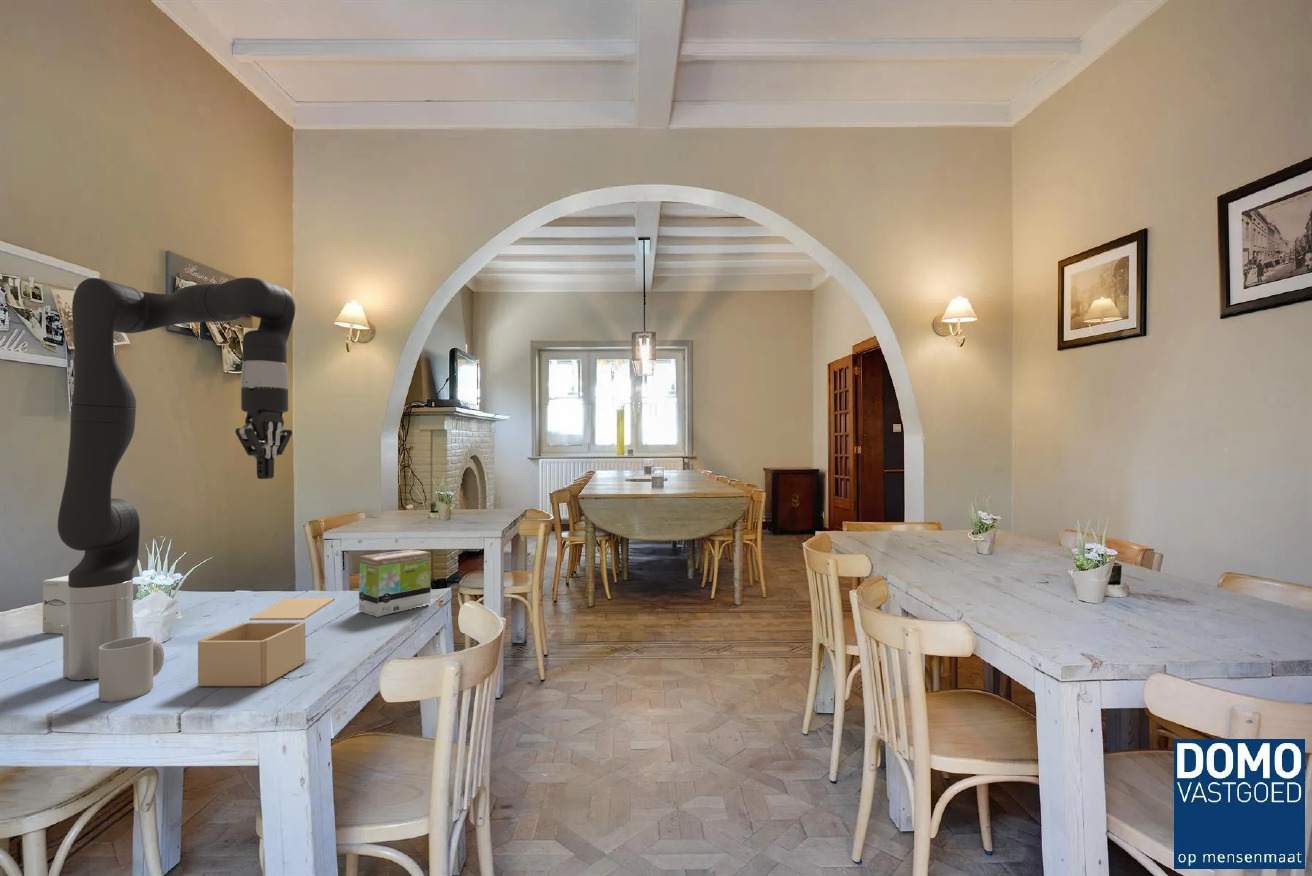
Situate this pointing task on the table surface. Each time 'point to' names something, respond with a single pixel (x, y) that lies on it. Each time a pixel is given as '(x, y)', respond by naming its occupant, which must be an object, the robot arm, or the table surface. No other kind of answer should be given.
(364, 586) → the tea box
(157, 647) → the cup
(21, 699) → the table surface
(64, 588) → the supplement box
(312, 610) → the flap
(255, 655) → the carton
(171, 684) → the table surface
